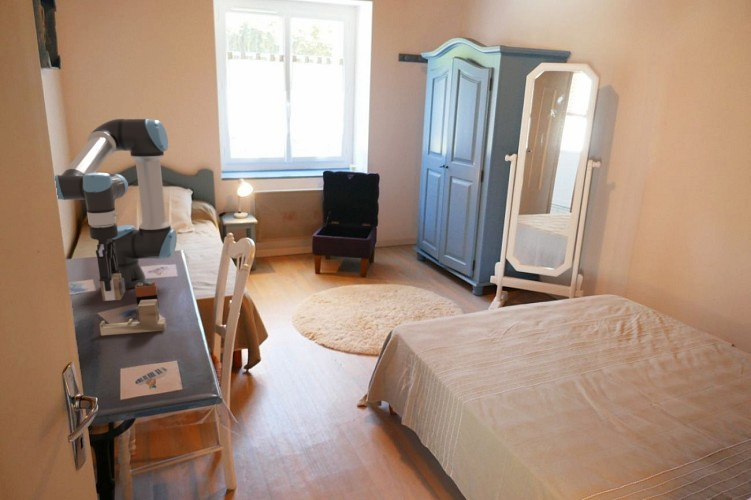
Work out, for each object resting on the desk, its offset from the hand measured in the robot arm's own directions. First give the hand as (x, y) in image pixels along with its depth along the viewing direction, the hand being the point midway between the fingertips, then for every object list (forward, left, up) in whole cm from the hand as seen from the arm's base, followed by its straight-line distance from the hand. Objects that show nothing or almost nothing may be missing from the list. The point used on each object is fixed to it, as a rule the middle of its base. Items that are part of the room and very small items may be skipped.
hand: (112, 296), depth 163 cm
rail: (0, +5, -12) cm, 13 cm away
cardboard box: (0, 0, 0) cm, 0 cm away
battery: (-19, +6, -13) cm, 24 cm away
